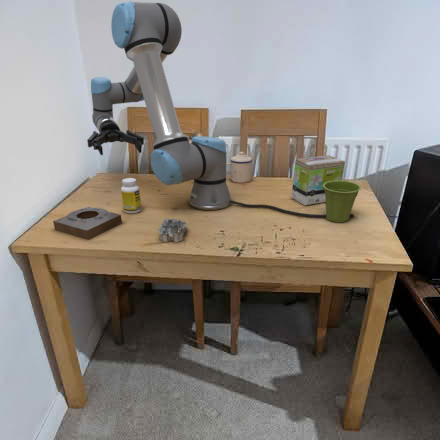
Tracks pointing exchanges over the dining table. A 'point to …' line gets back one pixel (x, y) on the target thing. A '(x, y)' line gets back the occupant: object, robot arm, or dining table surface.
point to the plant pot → (340, 199)
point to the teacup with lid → (240, 168)
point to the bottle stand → (87, 222)
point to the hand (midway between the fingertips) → (121, 150)
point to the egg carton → (172, 230)
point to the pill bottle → (130, 196)
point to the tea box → (315, 177)
